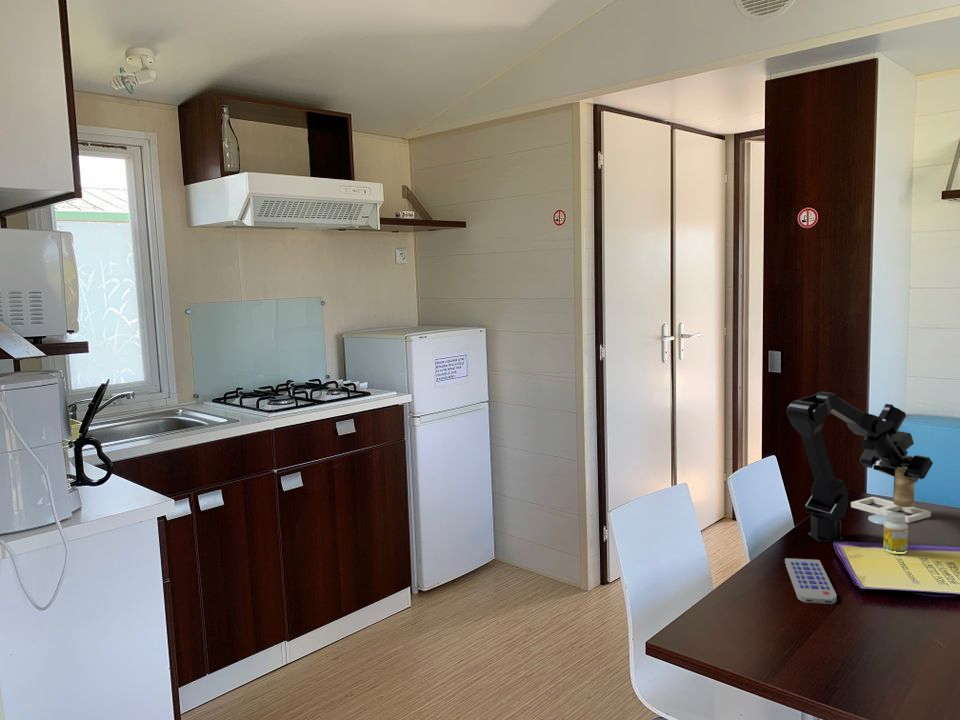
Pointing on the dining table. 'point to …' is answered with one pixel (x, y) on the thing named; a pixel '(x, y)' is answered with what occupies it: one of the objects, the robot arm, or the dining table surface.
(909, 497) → the plug
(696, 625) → the dining table surface
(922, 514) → the holder
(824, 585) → the remote control
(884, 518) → the coaster
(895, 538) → the supplement bottle
